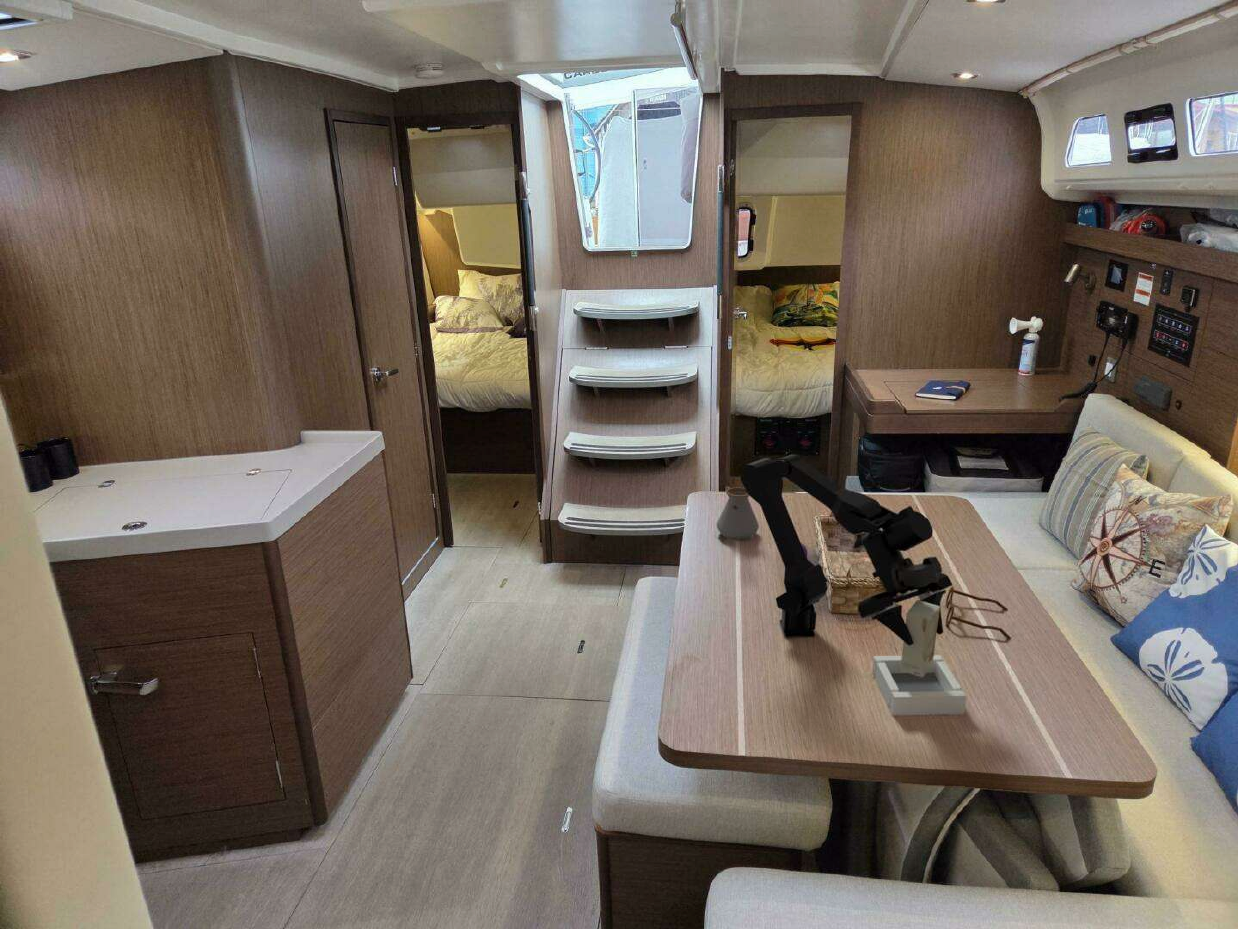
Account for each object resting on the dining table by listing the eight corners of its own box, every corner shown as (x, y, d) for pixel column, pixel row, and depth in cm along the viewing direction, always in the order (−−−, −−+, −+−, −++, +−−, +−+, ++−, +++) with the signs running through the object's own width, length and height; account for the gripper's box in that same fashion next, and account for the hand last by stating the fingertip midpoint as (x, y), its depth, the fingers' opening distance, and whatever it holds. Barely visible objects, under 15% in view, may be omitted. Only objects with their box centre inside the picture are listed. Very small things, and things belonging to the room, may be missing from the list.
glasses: (945, 601, 185) (947, 582, 183) (1007, 611, 180) (1010, 591, 179) (945, 631, 173) (948, 611, 171) (1011, 641, 169) (1015, 621, 167)
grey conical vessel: (718, 524, 226) (719, 475, 221) (759, 527, 224) (761, 477, 219) (710, 558, 207) (711, 505, 202) (755, 562, 205) (757, 508, 199)
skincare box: (923, 679, 146) (930, 621, 142) (899, 670, 148) (905, 613, 144) (933, 661, 151) (941, 605, 146) (910, 654, 153) (917, 598, 149)
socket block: (892, 715, 147) (894, 697, 145) (871, 673, 159) (873, 656, 157) (963, 714, 146) (966, 696, 145) (937, 672, 159) (940, 655, 157)
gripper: (875, 557, 141) (916, 642, 135) (951, 534, 148) (992, 613, 143) (840, 577, 150) (877, 657, 145) (913, 555, 158) (951, 630, 153)
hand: (926, 639), depth 146 cm, fingers closed on skincare box, 7 cm apart
